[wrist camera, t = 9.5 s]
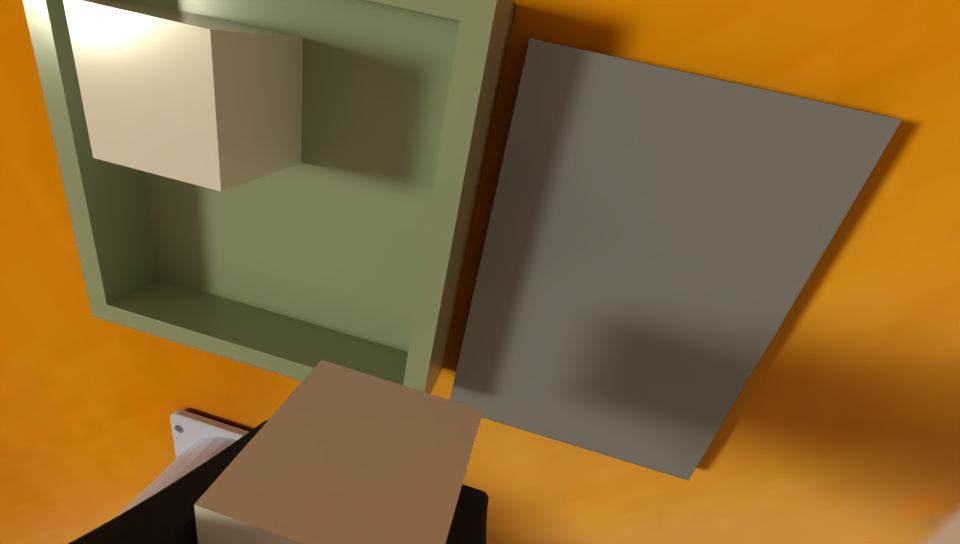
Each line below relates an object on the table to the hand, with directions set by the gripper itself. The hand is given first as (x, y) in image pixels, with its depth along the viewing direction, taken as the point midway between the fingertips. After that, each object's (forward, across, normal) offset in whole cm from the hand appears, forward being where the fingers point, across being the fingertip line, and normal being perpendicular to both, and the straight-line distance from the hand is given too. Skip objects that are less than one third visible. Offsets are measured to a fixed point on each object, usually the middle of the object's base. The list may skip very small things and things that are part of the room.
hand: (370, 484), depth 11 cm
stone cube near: (+1, 0, 0) cm, 1 cm away
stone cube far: (+8, +8, -6) cm, 13 cm away
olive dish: (+8, +7, -4) cm, 11 cm away
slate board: (+8, -6, -3) cm, 10 cm away
